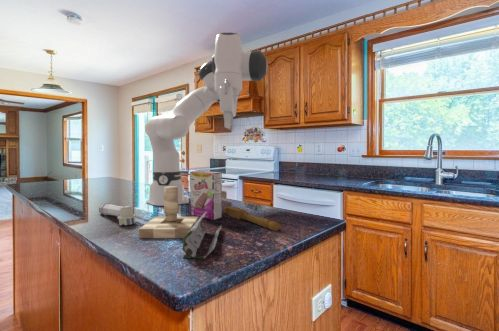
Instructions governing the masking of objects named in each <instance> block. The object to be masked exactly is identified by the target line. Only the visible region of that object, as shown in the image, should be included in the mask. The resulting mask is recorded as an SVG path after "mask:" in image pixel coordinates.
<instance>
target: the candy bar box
mask: <svg viewBox="0 0 499 331" xmlns="http://www.w3.org/2000/svg"><path fill="white" fill-rule="evenodd" d="M222 179H223V178H222V172H218V171H217V172H216V171H206V170H194V171H190V172H189V185H190V187H189V188H190V190H189V191H190V197H189V200H190V217H198V219H200V217H201V216H202V215H203V214H204V213H205V212H206V211H207V212H206V214H205V216H204V217H203V218H202V219H206V220H212V221H215V220H218V219H219V220H220V219H221V218H222V217H223V216H222V215H223V214H222V213H223V211H222V210H223V208H222V207H223V206H222V205H223V203H222V202H223V198H222V197H223V196H222V195H223V193H222V191H223V190H222V187H223V186H222V185H223V184H222V183H223V182H222V181H223V180H222Z"/></svg>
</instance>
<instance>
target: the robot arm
mask: <svg viewBox="0 0 499 331" xmlns="http://www.w3.org/2000/svg"><path fill="white" fill-rule="evenodd" d="M242 46H243V45H242V39H241V36H240V35H239V34H238V33H236V32H220V33H218V34H217V35H216V37H215V43H214V52H213V53H214V54H213V55H212V56H211V60H210V61H207V62H205V63H203V64H202V65H201V66H200V69H199V70H198V77H199V79H200V80H201V81H202V82H203V84H204V85H205V86H204V85H203V86H201V87H198V88H196V89H194V90H192V91H191V92H189V93H188V94H186V95H185V96H184V97H183V98H181V99H180V100H179V101H177V103H176V104H175V106H174V108H172V110H171V111H170V112H167V113H166V114H161V115H155V116H153V117H151V118H149V119H148V120H147V121H146V123H145V125H144V131H145V133H146V135H147V136H148V138H149V142H150V146H151V149H152V155H153V156H152V158H153V172H152V180H153V181H152V182H151V183H150V184H149V197H148V200H146V201H145V202H146V204H150V205H153V206H158V207H159V206H162V207H164V187H168V186H176V187H178V205H184V204H189V202H190V197H189V195H186V194H187V193H186V192H185V186H184V183H183V182H182V180H181V179H182V172H181V171H180V170H181V169H180V168H181V166H180V152H179V150H177V148H176V146H175V142H174V141H176V140H180V139H182V138H185V136H186V135H187V134H188V133H189V130H190V126H191V125H192V124H193V123H194V122H195V121H196V120H197V119H199V117H201V116H202V115H204V114H205V113H206V112H207V111H208V110H209V109H210V107H211V106H212V105H213V104H214V103H216V102H218V103H217V104H216V105H217V106H218V105H219V110H220V112H221V113H222V114H223V121H224V122H223V124H224V126H223V127H224V128H225V129H227V130H229V131H231V130H233V127H234V126H233V124H234V117H236V115H237V110H238V98H239V97H240V93H241V92H242V91H243V81H244V82H245V81H246V82H247V81H248V82H249V81H251V82H260V81H262V80H263V79H264V78H265V77H266V75H267V70H268V60H267V56H266V55H265V54H264V53H263V52H262V51H261V50H252V51H250V50H249V51H245V50H244V51H243V49H242V48H243V47H242Z"/></svg>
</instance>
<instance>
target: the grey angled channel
mask: <svg viewBox="0 0 499 331" xmlns="http://www.w3.org/2000/svg"><path fill="white" fill-rule="evenodd" d="M206 212H207V211H206ZM206 212H205V213H204V214H203V215H202V216H201V217H200V218H198V221H197V222H196V223H195V225H194V226H193V227H192V228H191V229H190V231H189V232H188V233H187V234H186V236H184V238H182V243H183V244H182V251H183V252H184V253H185V254H184V255H183V256H182V258H183V259H185V260H186V259H188V258H191V259H195V260H196V259H197V260H200V259H201V260H202V259H203V260H204V259H206V258H207V257H208V256H209V255H210V254H211V253H212V252H213V251H214V250H215V248H216V246H217V242H218V237H219V234H220V232H221V229H222V224H220V225H219V226H218V228H217V229H216V230H215V233H214V236H213V237H212V241H211V243H210V245H209V247H208V250H207V252H206V255H202V256H201V255H200V256H197V252H198V250H197V249H199V248H200V246H201V243H202V240H204V237H205V234H206V233H207V232H206V231H207V229H205V227H204V226H202V220H203V219H204V218H203V217H204V216H205V214H206Z"/></svg>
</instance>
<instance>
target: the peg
mask: <svg viewBox="0 0 499 331" xmlns="http://www.w3.org/2000/svg"><path fill="white" fill-rule="evenodd" d="M163 214H164V215H165V216H164V217H166V220H165V222H166V224H177V217H178V214H179V204H178V187H176V186H168V187H164V206H163Z"/></svg>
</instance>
